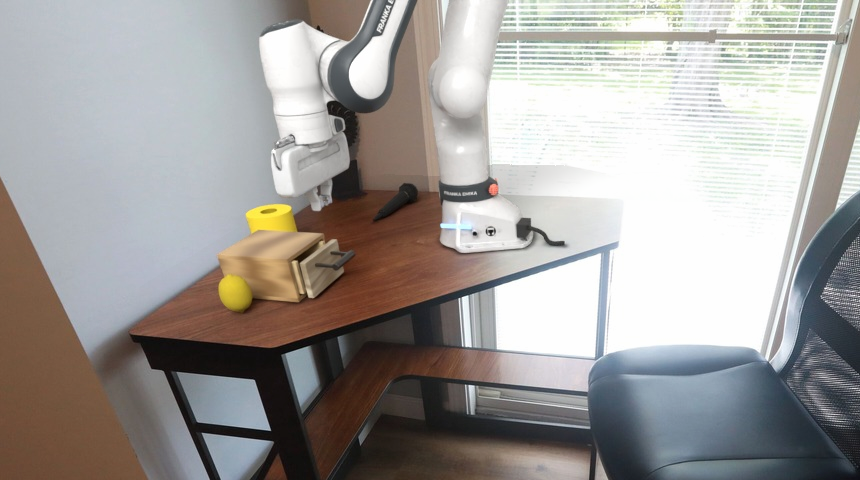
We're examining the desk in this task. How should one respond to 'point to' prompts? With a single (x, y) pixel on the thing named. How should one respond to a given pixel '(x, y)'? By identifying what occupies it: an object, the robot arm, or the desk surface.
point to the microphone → (399, 200)
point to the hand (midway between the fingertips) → (322, 207)
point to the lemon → (235, 293)
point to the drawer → (319, 267)
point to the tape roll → (271, 218)
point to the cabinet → (268, 262)
